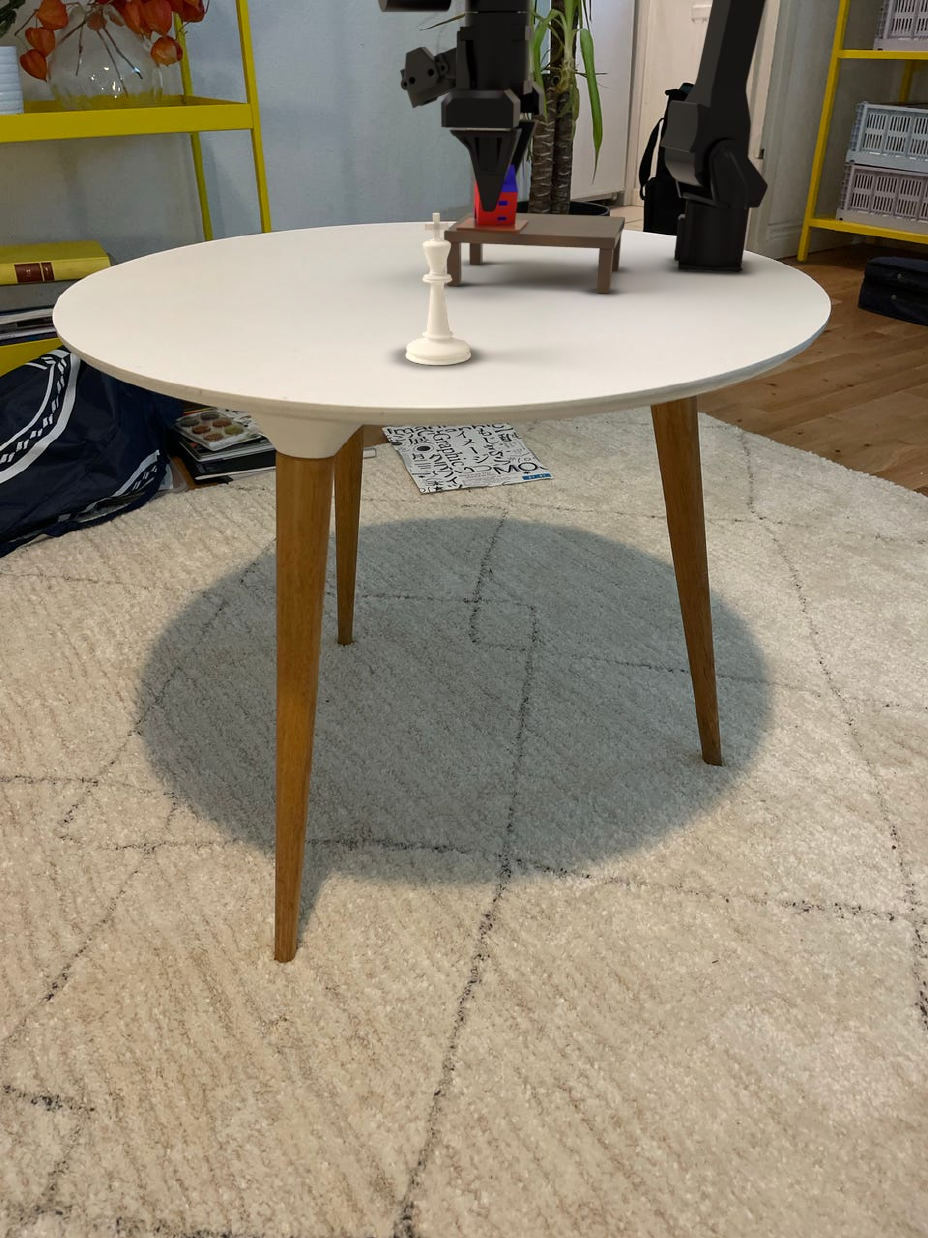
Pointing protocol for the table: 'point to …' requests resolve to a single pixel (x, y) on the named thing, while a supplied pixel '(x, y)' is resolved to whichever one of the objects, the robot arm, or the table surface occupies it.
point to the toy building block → (499, 204)
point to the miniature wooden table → (539, 239)
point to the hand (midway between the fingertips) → (495, 205)
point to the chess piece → (437, 308)
